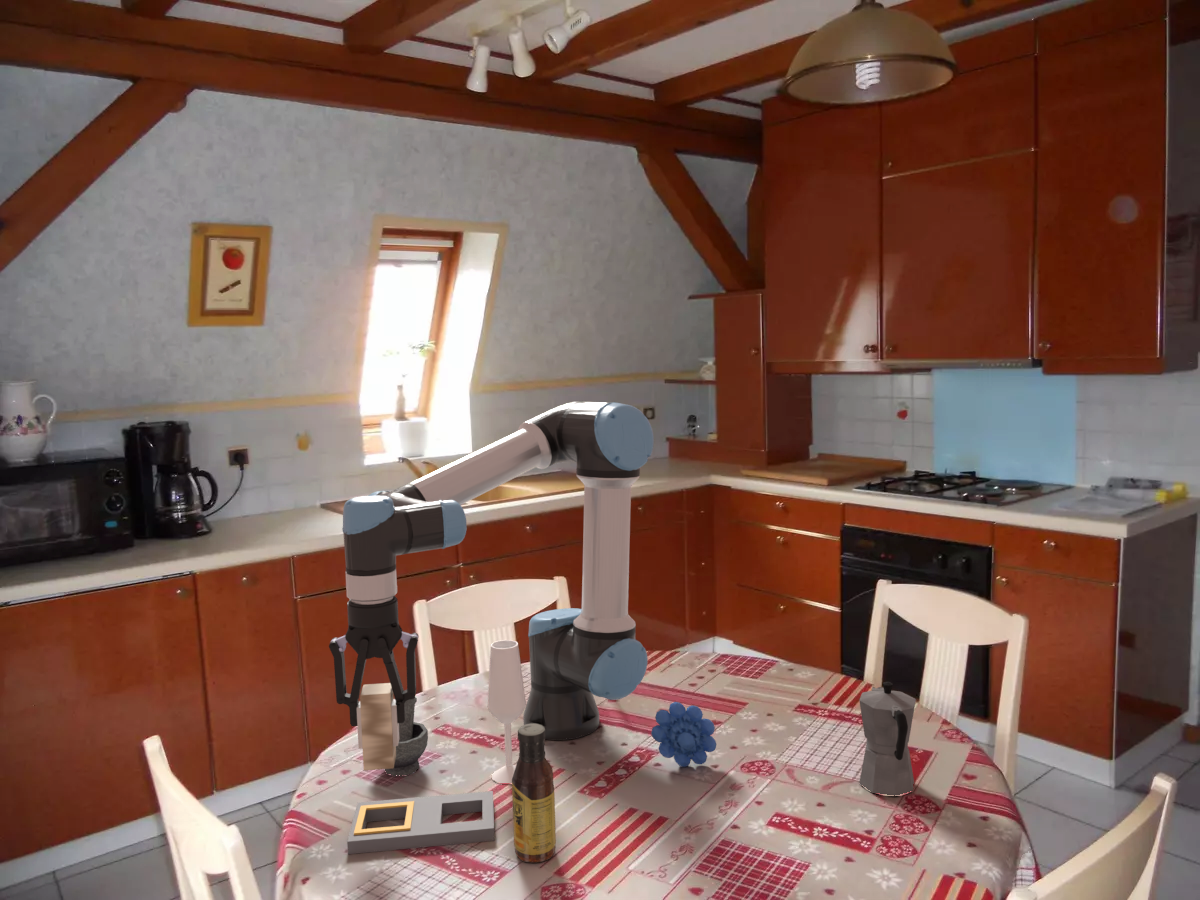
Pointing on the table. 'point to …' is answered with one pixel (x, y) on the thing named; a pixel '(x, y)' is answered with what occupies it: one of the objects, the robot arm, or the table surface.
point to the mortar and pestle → (409, 743)
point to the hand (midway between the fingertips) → (379, 743)
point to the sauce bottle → (533, 798)
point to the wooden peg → (377, 726)
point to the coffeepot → (887, 740)
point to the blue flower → (684, 734)
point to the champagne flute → (505, 696)
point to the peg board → (421, 822)
